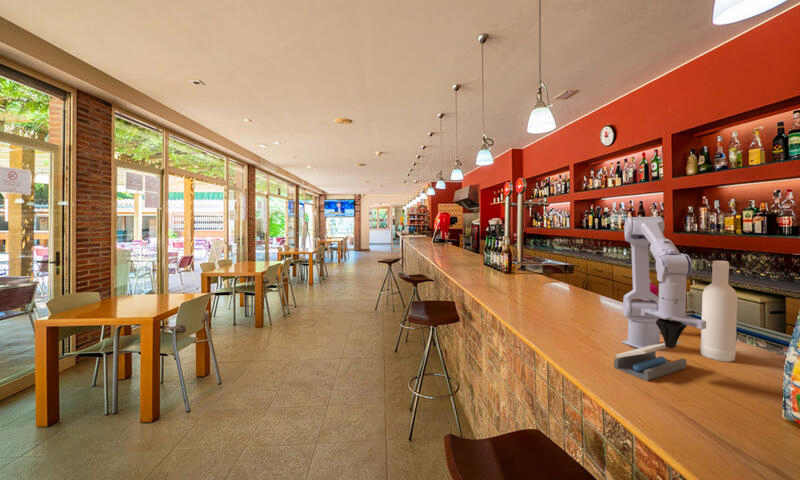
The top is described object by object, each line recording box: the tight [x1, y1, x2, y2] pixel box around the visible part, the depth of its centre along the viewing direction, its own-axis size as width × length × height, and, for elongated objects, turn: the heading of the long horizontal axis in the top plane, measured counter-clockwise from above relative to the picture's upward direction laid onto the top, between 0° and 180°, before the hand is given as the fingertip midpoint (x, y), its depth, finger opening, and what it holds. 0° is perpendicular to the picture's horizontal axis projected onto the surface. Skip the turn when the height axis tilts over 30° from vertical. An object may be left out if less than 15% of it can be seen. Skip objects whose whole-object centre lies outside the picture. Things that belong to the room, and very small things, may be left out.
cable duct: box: [613, 351, 687, 382], centre depth 96 cm, size 18×9×3 cm, turn 113°
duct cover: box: [614, 340, 682, 359], centre depth 96 cm, size 17×9×1 cm, turn 113°
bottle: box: [699, 260, 739, 363], centre depth 102 cm, size 8×8×30 cm
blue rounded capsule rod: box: [633, 355, 667, 371], centre depth 95 cm, size 13×2×2 cm, turn 113°
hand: (670, 347), depth 91 cm, fingers closed
